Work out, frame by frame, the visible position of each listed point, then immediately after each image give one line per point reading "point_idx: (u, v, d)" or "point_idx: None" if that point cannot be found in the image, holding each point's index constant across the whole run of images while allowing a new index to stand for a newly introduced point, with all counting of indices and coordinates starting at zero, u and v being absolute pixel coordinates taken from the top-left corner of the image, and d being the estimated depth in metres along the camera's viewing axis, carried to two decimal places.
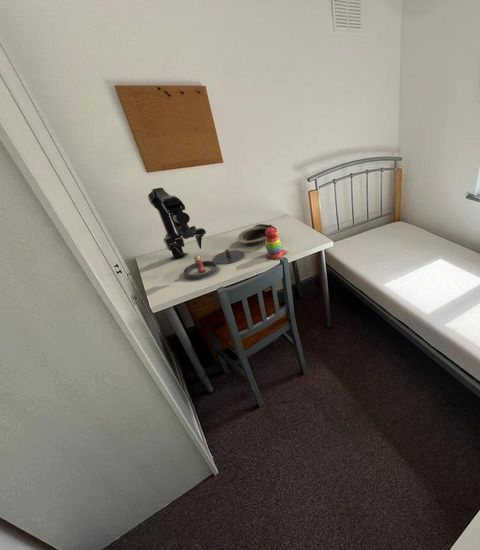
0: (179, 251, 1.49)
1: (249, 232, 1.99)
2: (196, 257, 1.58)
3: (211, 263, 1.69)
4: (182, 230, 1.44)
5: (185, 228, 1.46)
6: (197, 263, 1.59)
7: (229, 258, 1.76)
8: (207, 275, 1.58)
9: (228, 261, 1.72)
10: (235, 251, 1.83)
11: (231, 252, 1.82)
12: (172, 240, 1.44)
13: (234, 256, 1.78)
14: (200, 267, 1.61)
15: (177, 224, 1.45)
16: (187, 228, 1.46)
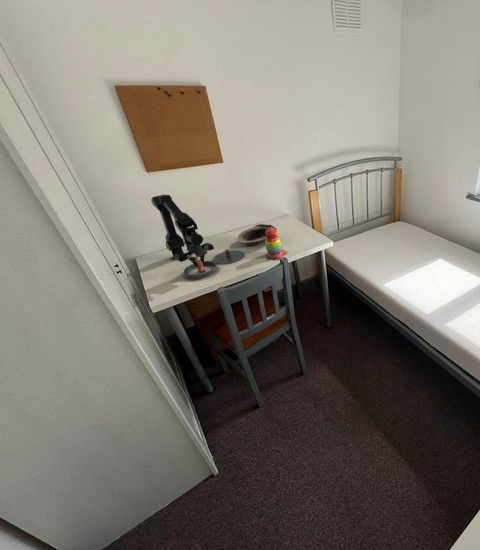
0: (194, 264, 1.58)
1: (249, 232, 1.99)
2: (196, 257, 1.58)
3: (211, 263, 1.69)
4: (195, 248, 1.52)
5: (197, 246, 1.53)
6: (197, 263, 1.59)
7: (229, 258, 1.76)
8: (207, 275, 1.58)
9: (228, 261, 1.72)
10: (235, 251, 1.83)
11: (231, 252, 1.82)
12: (185, 257, 1.51)
13: (234, 256, 1.78)
14: (200, 267, 1.61)
15: (189, 242, 1.51)
16: (199, 246, 1.54)
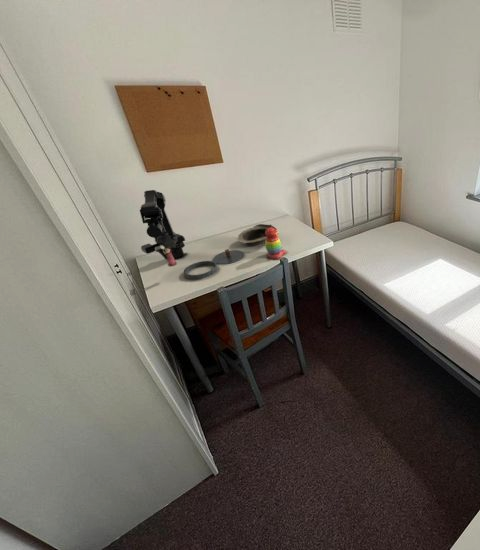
0: (163, 256, 1.50)
1: (249, 232, 1.99)
2: (165, 249, 1.50)
3: (211, 263, 1.69)
4: (162, 239, 1.43)
5: (165, 237, 1.45)
6: (167, 255, 1.51)
7: (229, 258, 1.76)
8: (207, 275, 1.58)
9: (228, 261, 1.72)
10: (235, 251, 1.83)
11: (231, 252, 1.82)
12: (152, 249, 1.42)
13: (234, 256, 1.78)
14: (170, 259, 1.52)
15: None
16: (167, 237, 1.45)
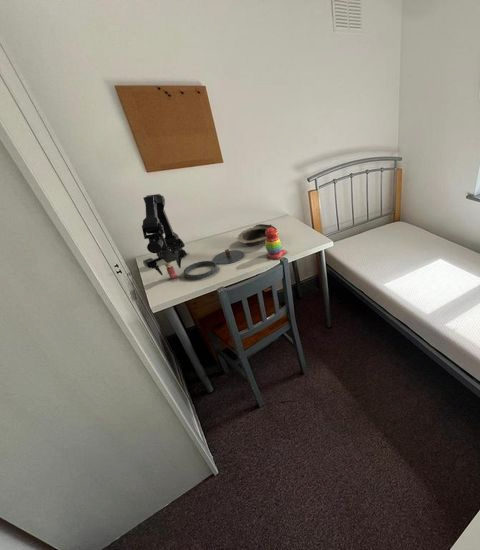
0: (159, 272, 1.51)
1: (249, 232, 1.99)
2: (167, 264, 1.53)
3: (211, 263, 1.69)
4: (164, 254, 1.46)
5: (166, 251, 1.48)
6: (168, 270, 1.54)
7: (229, 258, 1.76)
8: (207, 275, 1.58)
9: (228, 261, 1.72)
10: (235, 251, 1.83)
11: (231, 252, 1.82)
12: (153, 264, 1.46)
13: (234, 256, 1.78)
14: (172, 273, 1.56)
15: None
16: (169, 251, 1.48)
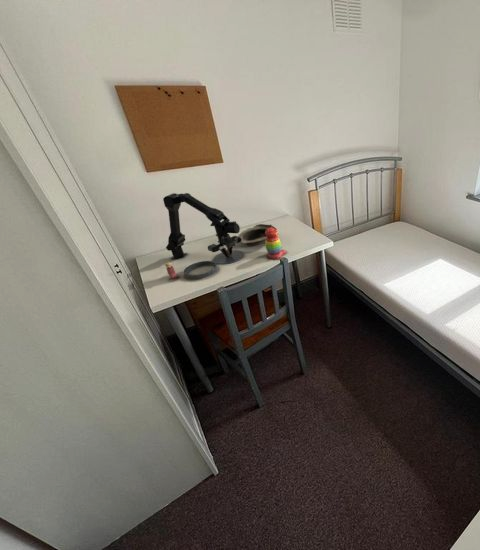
0: (225, 254, 1.75)
1: (249, 232, 1.99)
2: (167, 264, 1.53)
3: (211, 263, 1.69)
4: (226, 240, 1.68)
5: (227, 238, 1.69)
6: (168, 270, 1.54)
7: (229, 258, 1.76)
8: (207, 275, 1.58)
9: (228, 261, 1.72)
10: (235, 251, 1.83)
11: None
12: (217, 248, 1.67)
13: (234, 256, 1.78)
14: (172, 273, 1.56)
15: (221, 234, 1.67)
16: (229, 238, 1.70)
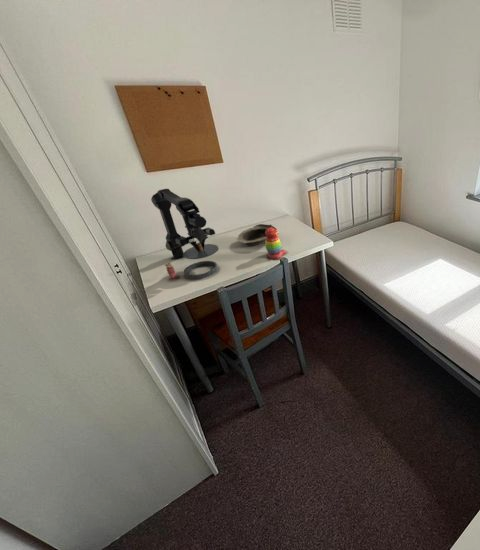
0: (196, 248, 1.57)
1: (249, 232, 1.99)
2: (167, 264, 1.53)
3: (211, 263, 1.69)
4: (196, 232, 1.50)
5: (198, 230, 1.52)
6: (168, 270, 1.54)
7: (201, 252, 1.58)
8: (207, 275, 1.58)
9: (200, 255, 1.55)
10: (209, 245, 1.66)
11: (204, 246, 1.65)
12: (186, 241, 1.49)
13: (207, 250, 1.60)
14: (172, 273, 1.56)
15: (190, 226, 1.50)
16: (200, 230, 1.52)
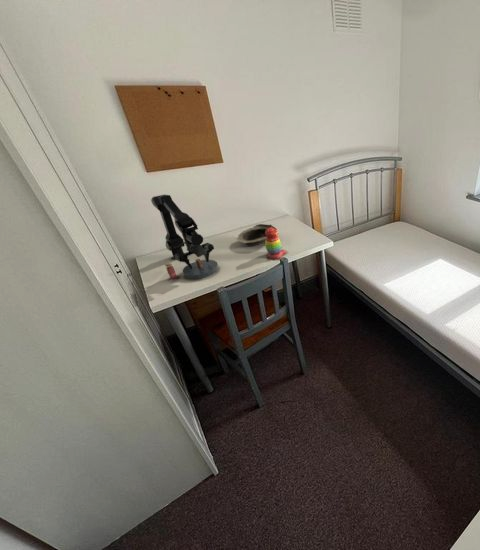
0: (189, 266, 1.56)
1: (249, 232, 1.99)
2: (167, 264, 1.53)
3: None
4: (195, 248, 1.52)
5: (197, 246, 1.53)
6: (168, 270, 1.54)
7: (200, 269, 1.60)
8: (207, 275, 1.58)
9: (199, 272, 1.57)
10: None
11: (204, 262, 1.67)
12: (185, 257, 1.51)
13: (206, 266, 1.62)
14: (172, 273, 1.56)
15: (189, 242, 1.51)
16: (199, 246, 1.54)
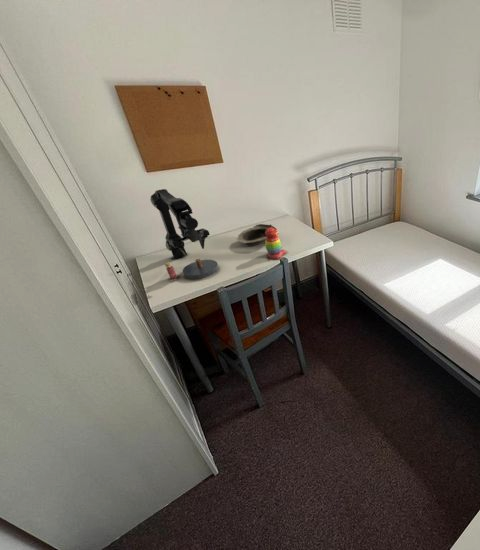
0: (184, 252, 1.52)
1: (249, 232, 1.99)
2: (167, 264, 1.53)
3: None
4: (189, 233, 1.47)
5: (192, 231, 1.49)
6: (168, 270, 1.54)
7: (200, 269, 1.60)
8: (207, 275, 1.58)
9: (199, 272, 1.57)
10: (208, 261, 1.68)
11: (204, 262, 1.67)
12: (179, 242, 1.46)
13: (206, 266, 1.62)
14: (172, 273, 1.56)
15: (184, 227, 1.47)
16: (194, 231, 1.49)
